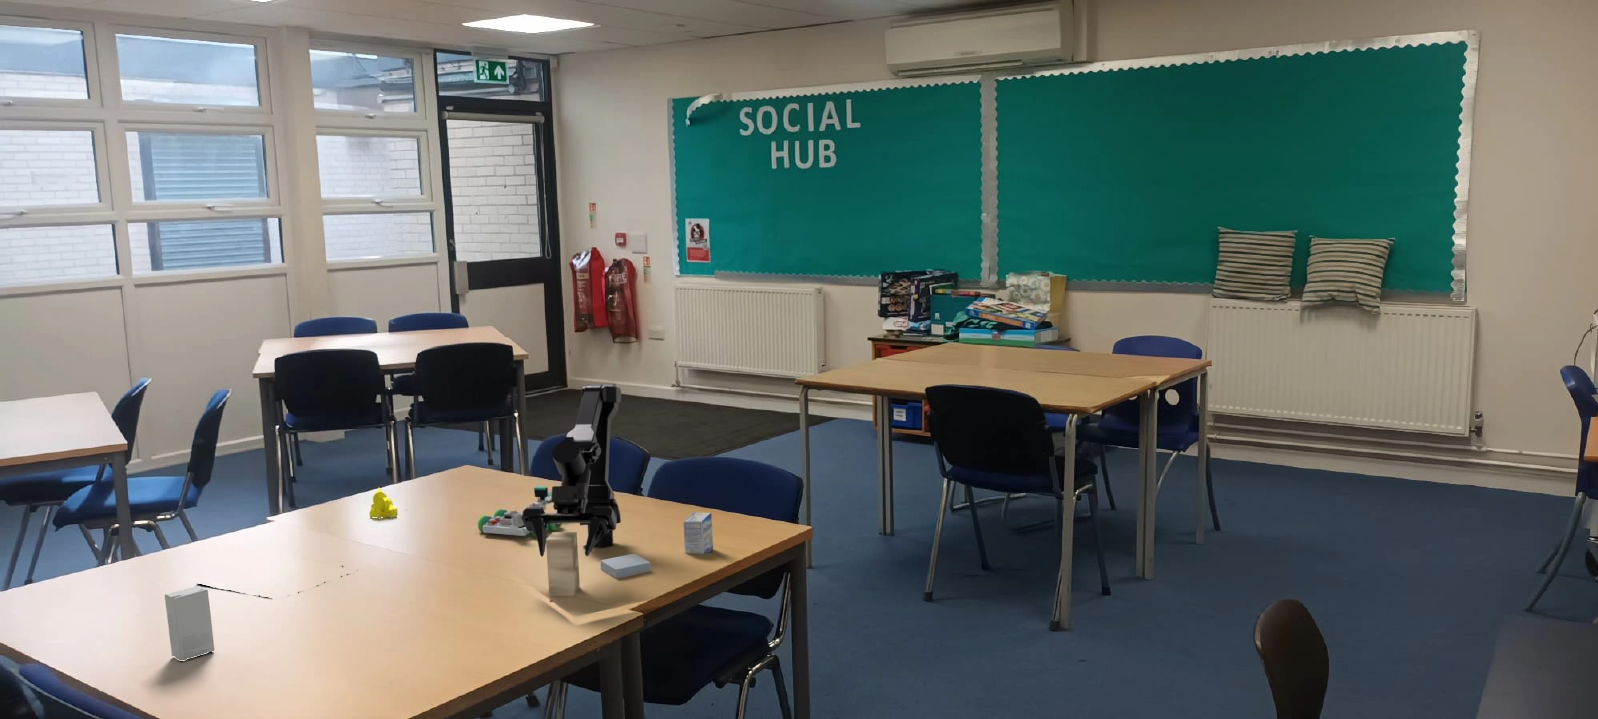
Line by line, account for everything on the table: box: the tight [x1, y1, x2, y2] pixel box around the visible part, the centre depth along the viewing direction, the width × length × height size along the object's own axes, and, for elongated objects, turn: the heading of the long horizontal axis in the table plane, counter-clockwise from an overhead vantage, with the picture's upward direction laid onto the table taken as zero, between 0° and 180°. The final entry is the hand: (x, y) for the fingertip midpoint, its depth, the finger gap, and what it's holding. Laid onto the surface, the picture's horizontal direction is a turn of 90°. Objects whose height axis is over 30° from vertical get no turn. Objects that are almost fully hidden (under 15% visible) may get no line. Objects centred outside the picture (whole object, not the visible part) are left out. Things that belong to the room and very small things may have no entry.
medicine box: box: [683, 512, 714, 555], centre depth 259 cm, size 8×4×9 cm, turn 168°
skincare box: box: [164, 585, 215, 660], centre depth 206 cm, size 6×4×12 cm
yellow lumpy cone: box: [369, 487, 399, 518], centre depth 300 cm, size 6×8×8 cm
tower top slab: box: [600, 553, 652, 580], centre depth 244 cm, size 8×8×2 cm
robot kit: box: [477, 486, 563, 538], centre depth 286 cm, size 19×25×9 cm
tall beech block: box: [545, 531, 581, 603], centre depth 231 cm, size 5×5×13 cm
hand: (563, 555), depth 232 cm, fingers open, 9 cm apart
